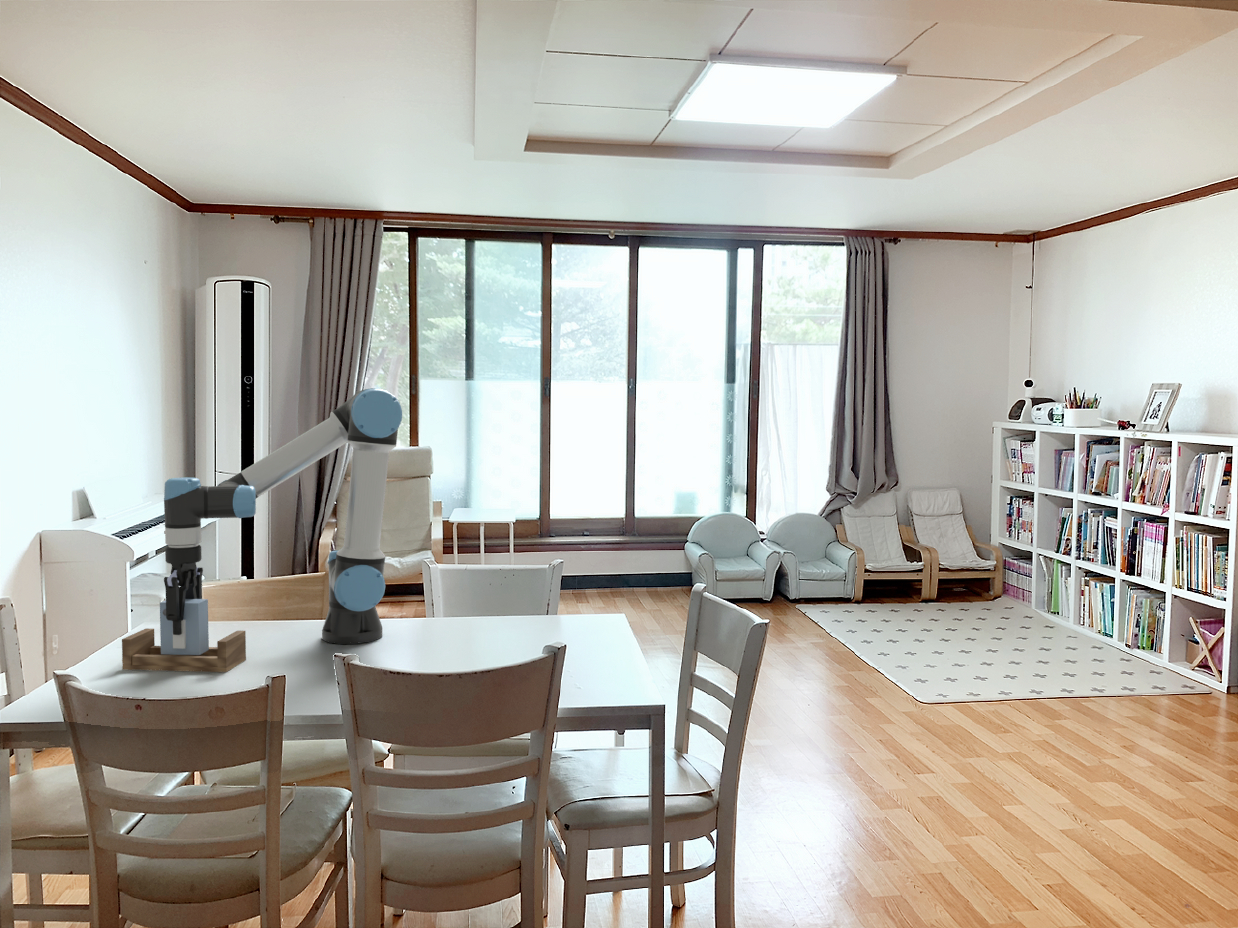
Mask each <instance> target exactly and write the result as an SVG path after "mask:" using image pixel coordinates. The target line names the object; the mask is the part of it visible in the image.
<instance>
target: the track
mask: <svg viewBox="0 0 1238 928" xmlns="http://www.w3.org/2000/svg"><path fill="white" fill-rule="evenodd" d="M246 633H247V632H246V630H236V631H234V632H232V633H231V634H228V635H227V636H224V637H223V638H221V639H219V640H217V642H216V646H217V647H216V646H215V647H213V646H209V650H208V651H206V652H204V653H202V654H201V655H170V654H161V645H155V628H144V629H141V630H140V631H137V632H134V633H133V634H131V635H127V636H125V637H123V638H122V639H121V656H122V657H121V658H122V659H121V661H122V663H121V666H122V670H125V671H126V670H128V671H129V670H130V671H161V672H162V671H166V672H168V671H169V672H171V671H172V672H201V673H203V672H205V673H207V672H208V673H210V672H211V673H228V672H229V671H231V670H232V669H234V668H237V666H239V665H240V664H242V663H243V662H245V661H246V660H247V651H246V650H247V646H246V643H247V642H246V638H247V637H246Z"/></svg>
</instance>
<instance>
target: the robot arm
mask: <svg viewBox="0 0 1238 928" xmlns="http://www.w3.org/2000/svg"><path fill="white" fill-rule="evenodd" d="M402 420H403V408H402V406H401V404H400V402H399V400H398V399H397V397H396V396H395V394H393V393H391V392H390V391H388V390H387V389H385V388H384V389H383V388H379V387H374V388H372V387H370V388H365V389H361V390H359V391H358V392H356V393H355V394H353V395H352V396H351V397H350V398H348V400H346V401H345V402H344V403H342V404H341V405H340V406H338V407H336V409H334V410H332V411H331V412H330V413H329V418H327V419H325V420H323V421H322V422H320V423H319V424H317V425H315V426H313V427H312V428H310V429H308V430H307V431H305V432H304V433H302V434H300V435H299V436H297V437H296V438H294V439H292V440H291V441H288V442H287V443H286V444H284V445H283V446H281V447H279V448H278V449H276V450H273V452H271V453H269V454H267V455H266V456H264V457H263V458H261V459H259V460H258V461H256V462H255V463H253V464H251V465H250V466H248V467H246V468H245V469H243V470H241V471H240V472H238V473H237V474H235V475H233V476H232V477H230V478H228V479H225V480H223V481H221V482H220V483H218V484H217V485H214V486H205V485H202V484H201V480H200V478H197V477H172V478H169V479H167V480H166V481H165V482H164V489H163V490H164V491H163V492H164V494H163V495H164V497H163V507H164V528H165V529H164V535H165V539H164V540H165V543H164V544H165V545H166V547H165V548H164V549H165V551H164V553H165V555H164V556H165V562H166V564H169V565H171V569H170V575H169V576H165V577H163V582H164V587H165V588H164V589H165V600H166V619H167V620H170V621H172V624H173V648H182V649H185V648H186V620H183V618H184V607H185V599H203V572H204V567H197V563H199V562H201V561H202V559H203V558H202V546H201V545H200V544H201V543H202V522H201V521H202V519H203V520H204V519H206V520H207V519H242V518H252V517H254V516H255V515H256V513H257V512H256V511H257V510H256V509H257V506H256V505H257V504H256V503H257V502H256V499H257V498H259V497H261V496H262V495H264V494H265V493H267V492H269V491H270V490H272V489H274V488H276V487H277V486H278V485H280V484H282V483H284V482H285V481H287V480H289V479H290V478H292V477H293V476H295V475H296V474H298V473H300V472H301V471H303V470H305V469H306V468H308V467H309V466H311V465H312V464H314V463H316V462H318V461H319V460H320V459H321V460H322V458H324V457H326V456H327V455H330V454H331V453H332V452H334V451H335V450H337V449H339V448H340V447H342V446H344V445H346V444H349V445H350V446H351V448H352V457H351V458H352V459H351V469H350V479H349V488H348V498H347V499H348V501H347V508H346V518H345V519H346V521H345V528H344V529H345V531H344V540H343V546H342V547H341V548H340V549H338V550H332V551H330V552H329V554H328V559H327V560H328V561H327V564H328V611H327V615H326V617H325V620H324V623H323V627H322V630H321V631H322V632H321V639H322V641H324V642H326V643H331V644H335V645H336V644H337V645H339V644H340V645H353V644H354V645H356V644H363V643H369V642H372V641H373V642H374V641H376V640H379V639H380V638H381V639H382V637H383V625H382V621H381V619H380V616H379V614H378V610H377V605H378V604H379V603H380V601H381V600H382V599H383V597H384V595H385V592H386V591H385V590H386V580H385V578H384V575H385V574H384V573H385V564H386V563H385V562H386V554H384V552H383V551H382V549H381V537H382V528H383V520H384V519H383V518H384V509H385V508H384V507H385V500H386V499H385V498H386V490H387V489H386V488H387V479H388V477H387V476H388V468H389V460H390V459H389V458H390V452H391V451H392V450H393V449H395V448H396V447H397V442H398V441H397V440H398V431H399V428H400V425H401V422H402Z"/></svg>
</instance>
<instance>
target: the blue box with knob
mask: <svg viewBox="0 0 1238 928" xmlns="http://www.w3.org/2000/svg"><path fill="white" fill-rule="evenodd" d="M183 620H186V648H185V649H182V648H173V624H172V621H170V620H167V619H166V599H165V600H163V601H160V602H159V624H160V625H159V626H160V627H159V628H160V629H159V630H160V631H159V632H160V646H161V654H170V655H201V654H202V653H204V652H206V651H208V650H209V647H210V646H209V644H210V643H209V642H210V641H209V638H210V637H209V634H210V633H209V599H208V598H207V599H206V598H202V599H185V607H184V618H183Z"/></svg>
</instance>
